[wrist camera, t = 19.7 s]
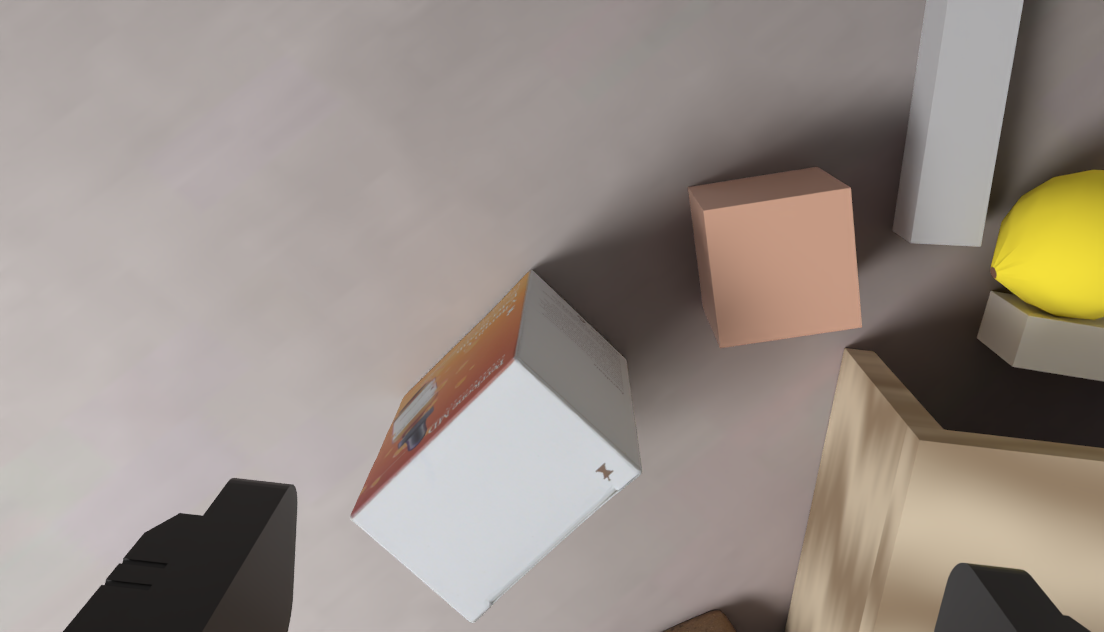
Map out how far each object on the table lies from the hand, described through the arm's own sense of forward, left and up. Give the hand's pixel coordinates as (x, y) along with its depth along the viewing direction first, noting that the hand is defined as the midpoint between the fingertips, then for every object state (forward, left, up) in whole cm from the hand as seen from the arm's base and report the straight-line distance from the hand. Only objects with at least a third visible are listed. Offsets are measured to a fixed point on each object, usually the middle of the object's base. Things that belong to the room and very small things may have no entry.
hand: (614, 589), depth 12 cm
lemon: (-1, +18, -28) cm, 34 cm away
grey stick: (-7, +13, -28) cm, 32 cm away
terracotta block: (+1, +7, -28) cm, 29 cm away
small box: (+8, -2, -28) cm, 30 cm away
